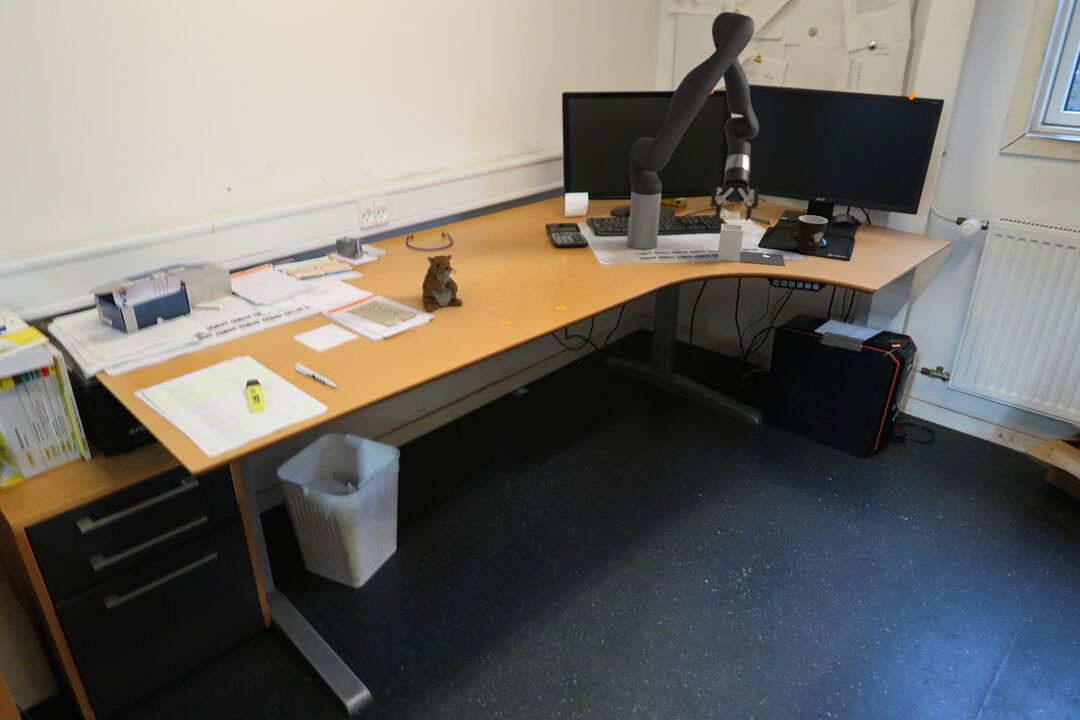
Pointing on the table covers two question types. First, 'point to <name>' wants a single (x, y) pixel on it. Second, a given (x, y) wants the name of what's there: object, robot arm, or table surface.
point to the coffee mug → (810, 232)
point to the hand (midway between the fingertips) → (732, 218)
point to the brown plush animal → (439, 284)
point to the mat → (761, 258)
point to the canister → (730, 242)
